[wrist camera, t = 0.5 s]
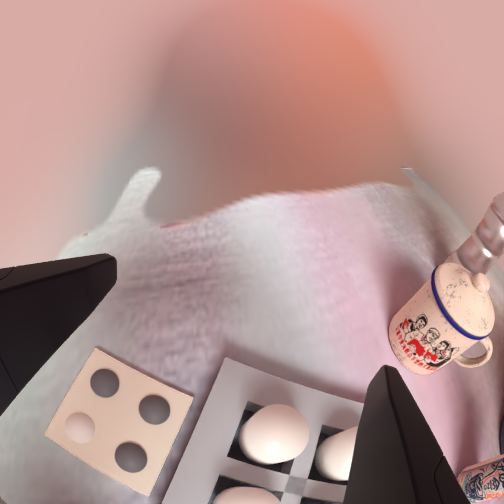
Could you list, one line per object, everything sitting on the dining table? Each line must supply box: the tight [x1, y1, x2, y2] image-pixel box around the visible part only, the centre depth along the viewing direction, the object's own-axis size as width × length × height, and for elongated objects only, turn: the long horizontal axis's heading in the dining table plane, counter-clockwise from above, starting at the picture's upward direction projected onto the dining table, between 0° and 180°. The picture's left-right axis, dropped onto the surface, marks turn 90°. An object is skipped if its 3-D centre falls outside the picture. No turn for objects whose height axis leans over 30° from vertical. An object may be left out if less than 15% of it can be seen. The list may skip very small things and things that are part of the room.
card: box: [44, 347, 194, 497], centre depth 18 cm, size 9×9×1 cm
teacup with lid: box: [389, 263, 495, 375], centre depth 25 cm, size 12×9×12 cm
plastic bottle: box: [444, 192, 504, 275], centre depth 32 cm, size 6×7×20 cm
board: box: [162, 357, 364, 504], centre depth 17 cm, size 16×16×2 cm
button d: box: [238, 404, 309, 465], centre depth 18 cm, size 4×4×3 cm
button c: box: [315, 426, 358, 481], centre depth 17 cm, size 4×4×3 cm
